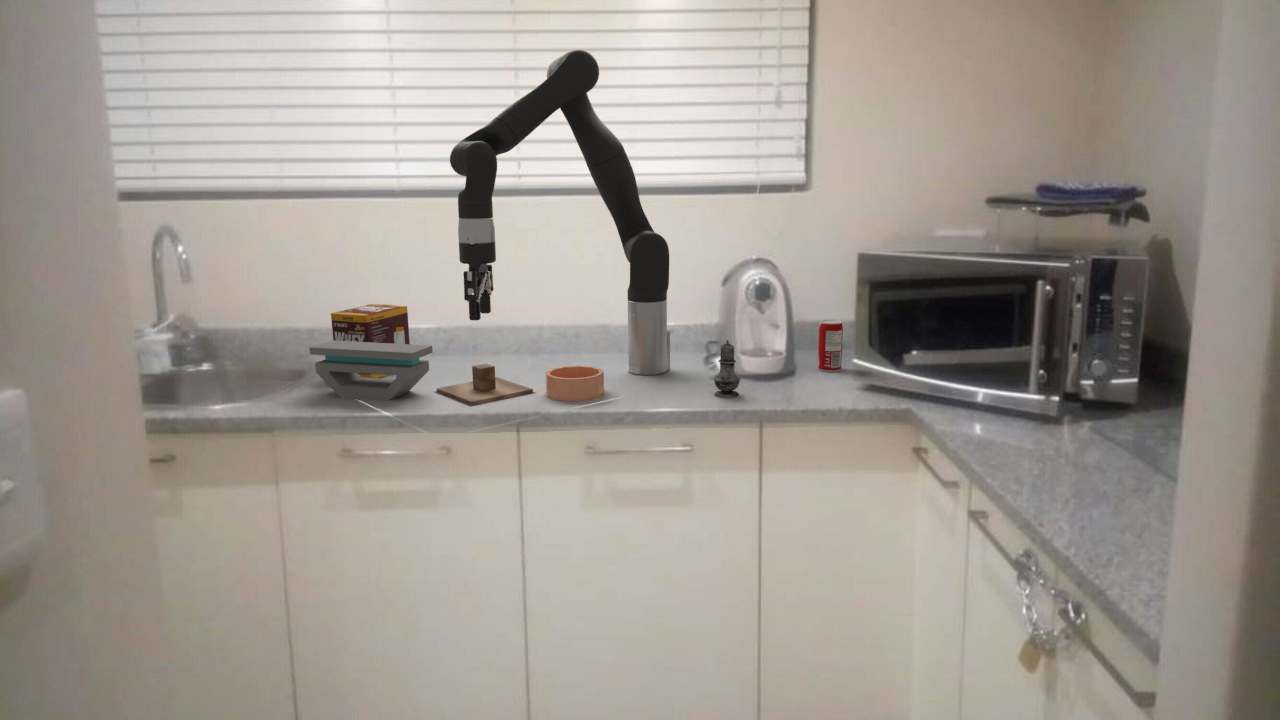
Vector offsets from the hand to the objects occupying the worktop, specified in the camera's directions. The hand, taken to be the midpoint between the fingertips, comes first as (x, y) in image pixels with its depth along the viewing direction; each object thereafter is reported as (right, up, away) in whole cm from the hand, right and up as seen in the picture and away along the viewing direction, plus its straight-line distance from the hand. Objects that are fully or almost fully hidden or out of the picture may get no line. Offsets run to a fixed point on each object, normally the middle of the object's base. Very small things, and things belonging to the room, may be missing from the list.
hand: (480, 316), depth 182 cm
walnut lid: (0, -16, +3) cm, 17 cm away
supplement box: (-30, -12, +25) cm, 41 cm away
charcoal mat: (0, -17, +4) cm, 17 cm away
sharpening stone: (-24, -17, +4) cm, 29 cm away
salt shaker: (+53, -17, +1) cm, 55 cm away
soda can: (+79, -12, +22) cm, 83 cm away
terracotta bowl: (+20, -17, +2) cm, 26 cm away
